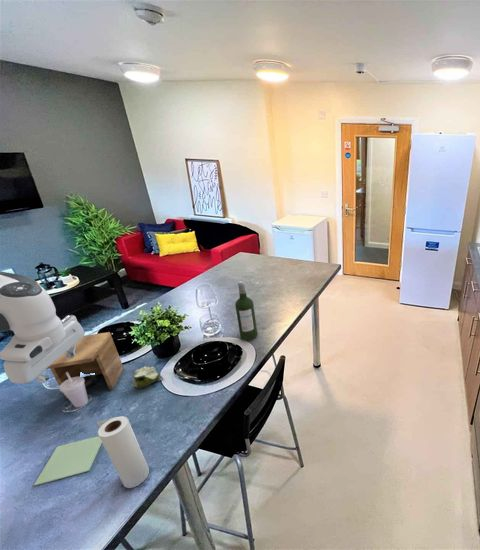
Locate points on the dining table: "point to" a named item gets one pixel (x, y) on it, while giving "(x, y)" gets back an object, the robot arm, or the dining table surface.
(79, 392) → the smoothie
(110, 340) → the desk
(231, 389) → the dining table surface
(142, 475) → the paper towel roll
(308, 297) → the dining table surface
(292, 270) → the dining table surface
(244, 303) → the wine bottle
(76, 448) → the mat
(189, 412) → the dining table surface
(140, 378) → the mossy rock
